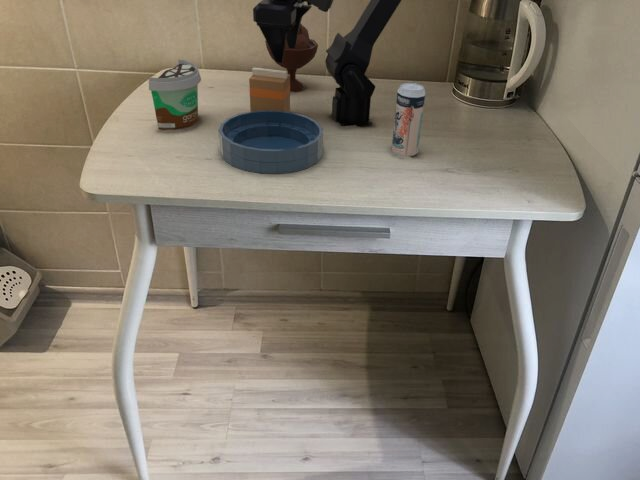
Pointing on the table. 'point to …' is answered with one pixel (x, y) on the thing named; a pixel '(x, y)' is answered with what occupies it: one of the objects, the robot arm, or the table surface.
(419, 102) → the beer can
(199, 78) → the food container
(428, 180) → the table surface
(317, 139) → the bowl
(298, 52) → the ice cream bowl
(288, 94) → the carton
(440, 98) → the table surface
